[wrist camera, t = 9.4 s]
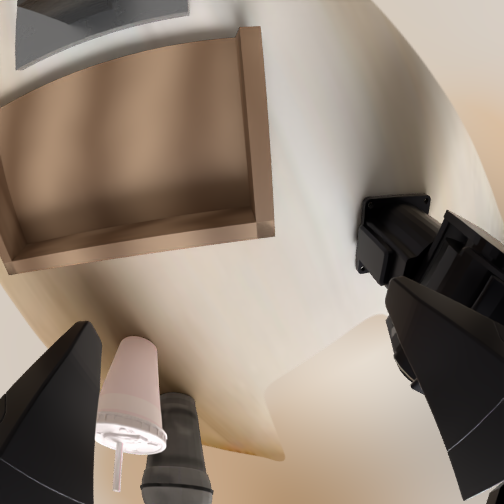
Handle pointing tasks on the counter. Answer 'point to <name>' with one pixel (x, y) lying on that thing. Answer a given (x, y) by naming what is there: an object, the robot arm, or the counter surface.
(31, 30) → the cover plate
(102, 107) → the walnut box
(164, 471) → the beverage cup
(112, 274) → the counter surface
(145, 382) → the smoothie
